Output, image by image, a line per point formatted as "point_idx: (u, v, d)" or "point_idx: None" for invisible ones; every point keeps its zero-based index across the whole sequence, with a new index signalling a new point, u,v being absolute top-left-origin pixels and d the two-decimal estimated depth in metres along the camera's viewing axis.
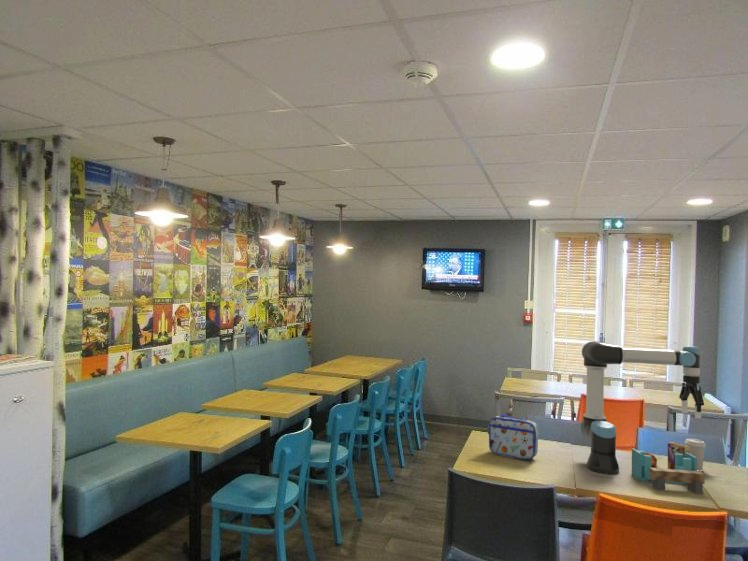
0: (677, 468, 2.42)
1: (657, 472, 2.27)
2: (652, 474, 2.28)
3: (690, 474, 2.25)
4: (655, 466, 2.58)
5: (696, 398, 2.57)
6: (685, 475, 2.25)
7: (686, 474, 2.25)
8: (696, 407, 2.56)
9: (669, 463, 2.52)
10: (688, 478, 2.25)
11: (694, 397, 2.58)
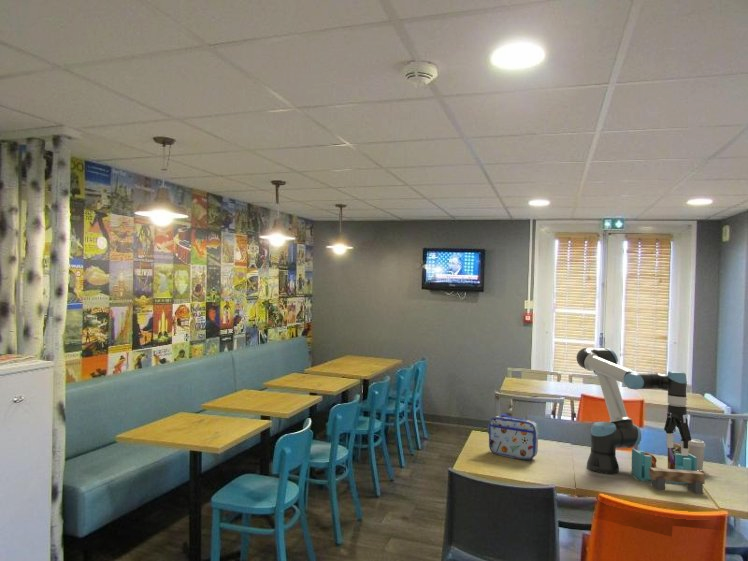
0: (677, 468, 2.42)
1: (657, 472, 2.27)
2: (652, 474, 2.28)
3: (690, 474, 2.25)
4: (654, 466, 2.58)
5: (682, 432, 2.23)
6: (685, 475, 2.25)
7: (686, 474, 2.25)
8: (682, 443, 2.22)
9: (669, 463, 2.52)
10: (688, 478, 2.25)
11: (680, 431, 2.24)
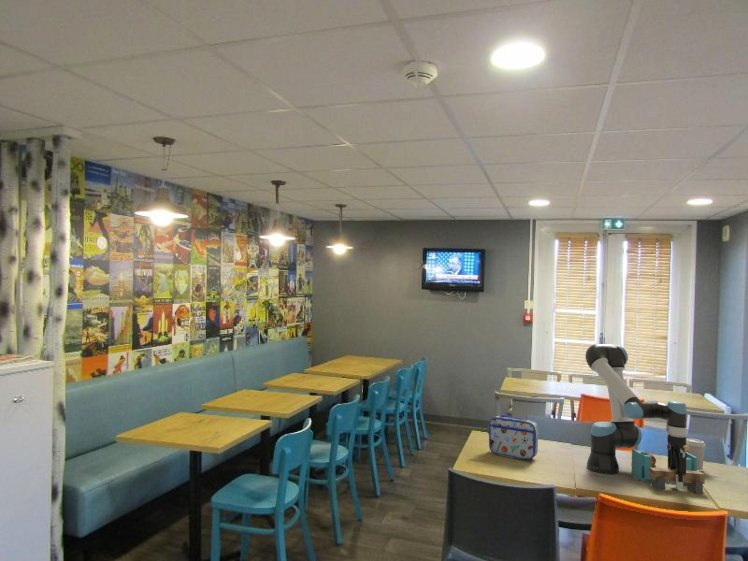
0: None
1: (657, 472, 2.27)
2: (652, 474, 2.28)
3: (690, 474, 2.25)
4: (653, 466, 2.59)
5: None
6: (685, 475, 2.25)
7: (686, 474, 2.25)
8: (677, 476, 2.25)
9: None
10: (688, 478, 2.25)
11: (677, 464, 2.25)
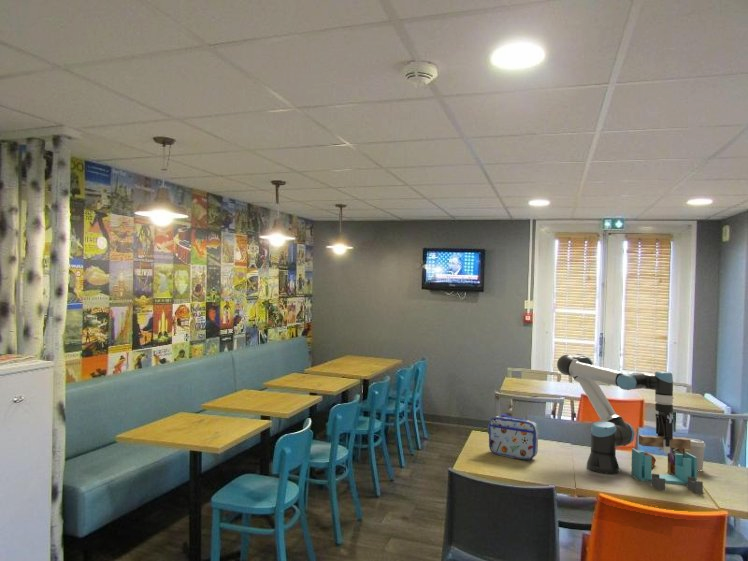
0: (677, 468, 2.42)
1: (646, 438, 2.40)
2: (641, 440, 2.41)
3: (677, 440, 2.39)
4: (652, 466, 2.59)
5: None
6: (672, 441, 2.39)
7: (673, 440, 2.39)
8: (664, 441, 2.38)
9: (669, 463, 2.52)
10: (675, 444, 2.39)
11: (664, 430, 2.39)
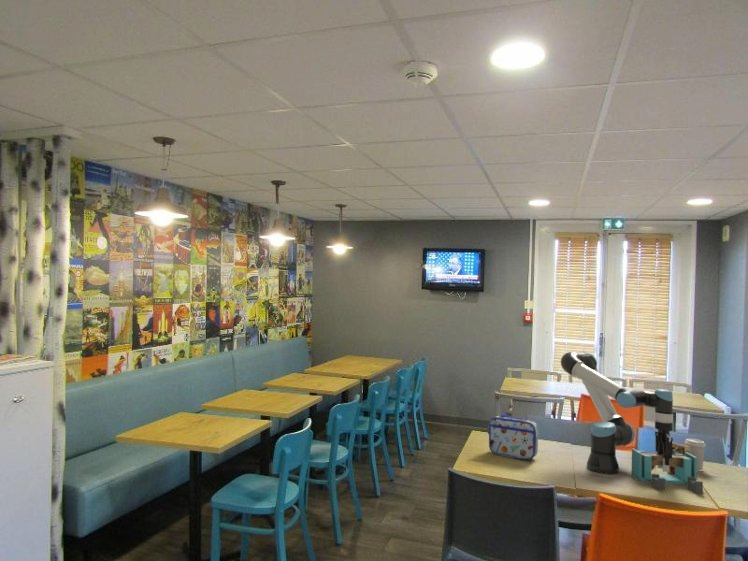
0: (677, 468, 2.42)
1: None
2: None
3: (676, 458, 2.38)
4: (652, 466, 2.59)
5: (665, 450, 2.38)
6: (671, 459, 2.38)
7: (672, 458, 2.38)
8: (664, 460, 2.38)
9: None
10: (674, 462, 2.38)
11: (664, 448, 2.38)
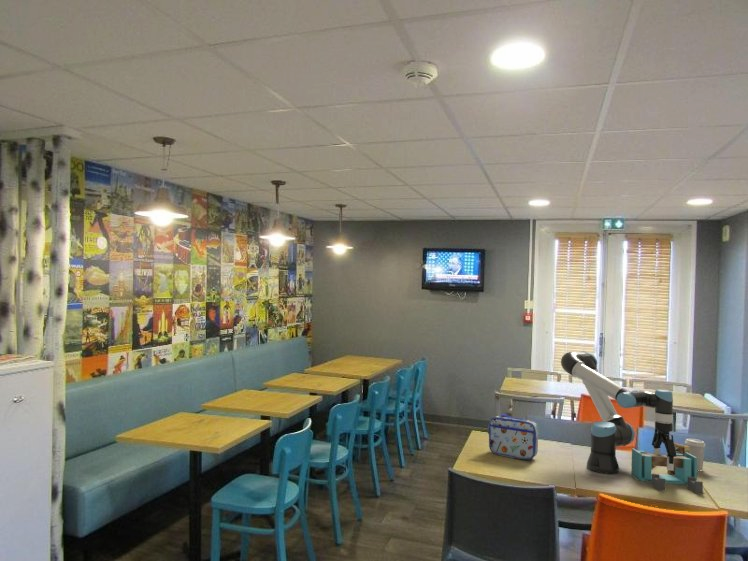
0: (677, 468, 2.42)
1: None
2: None
3: (676, 459, 2.38)
4: None
5: (668, 448, 2.35)
6: None
7: None
8: (668, 458, 2.34)
9: None
10: (674, 463, 2.38)
11: (666, 447, 2.36)
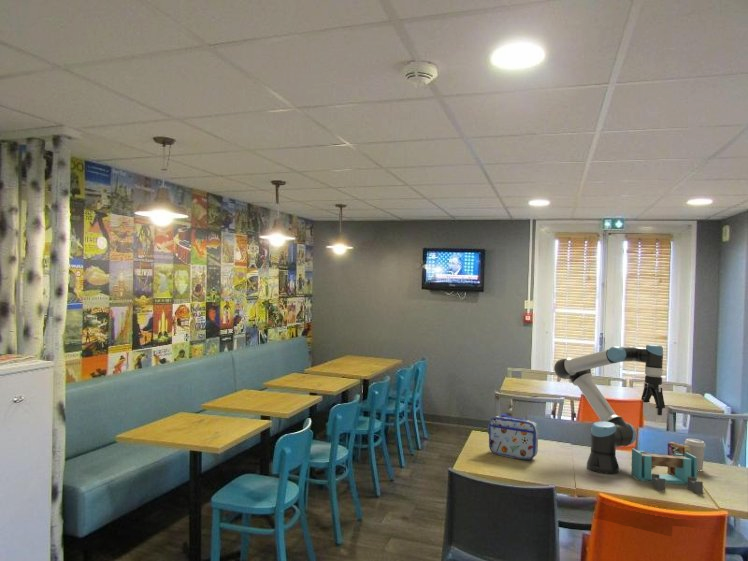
0: (677, 468, 2.42)
1: None
2: None
3: (676, 459, 2.38)
4: None
5: (657, 400, 2.40)
6: (671, 460, 2.39)
7: (672, 459, 2.38)
8: (657, 410, 2.39)
9: None
10: (674, 463, 2.38)
11: (655, 399, 2.41)
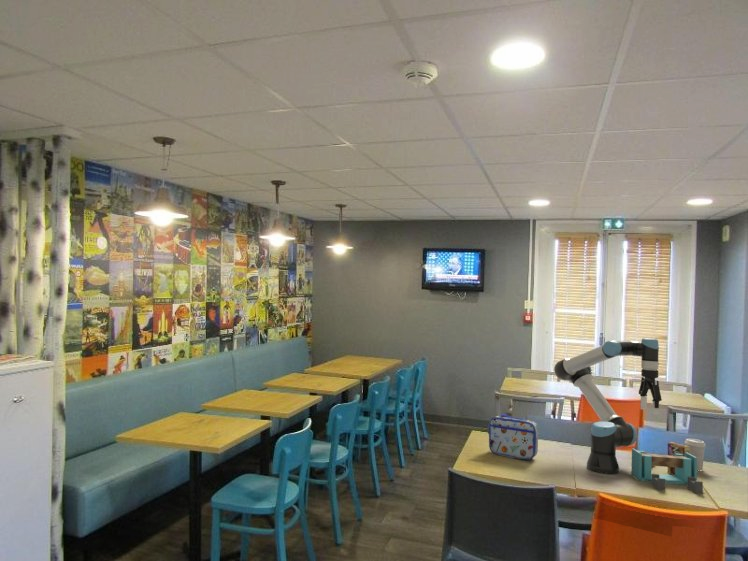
0: (677, 468, 2.42)
1: None
2: None
3: (676, 459, 2.38)
4: None
5: None
6: (671, 460, 2.39)
7: (672, 459, 2.38)
8: (654, 403, 2.40)
9: None
10: (674, 463, 2.38)
11: (652, 392, 2.42)
